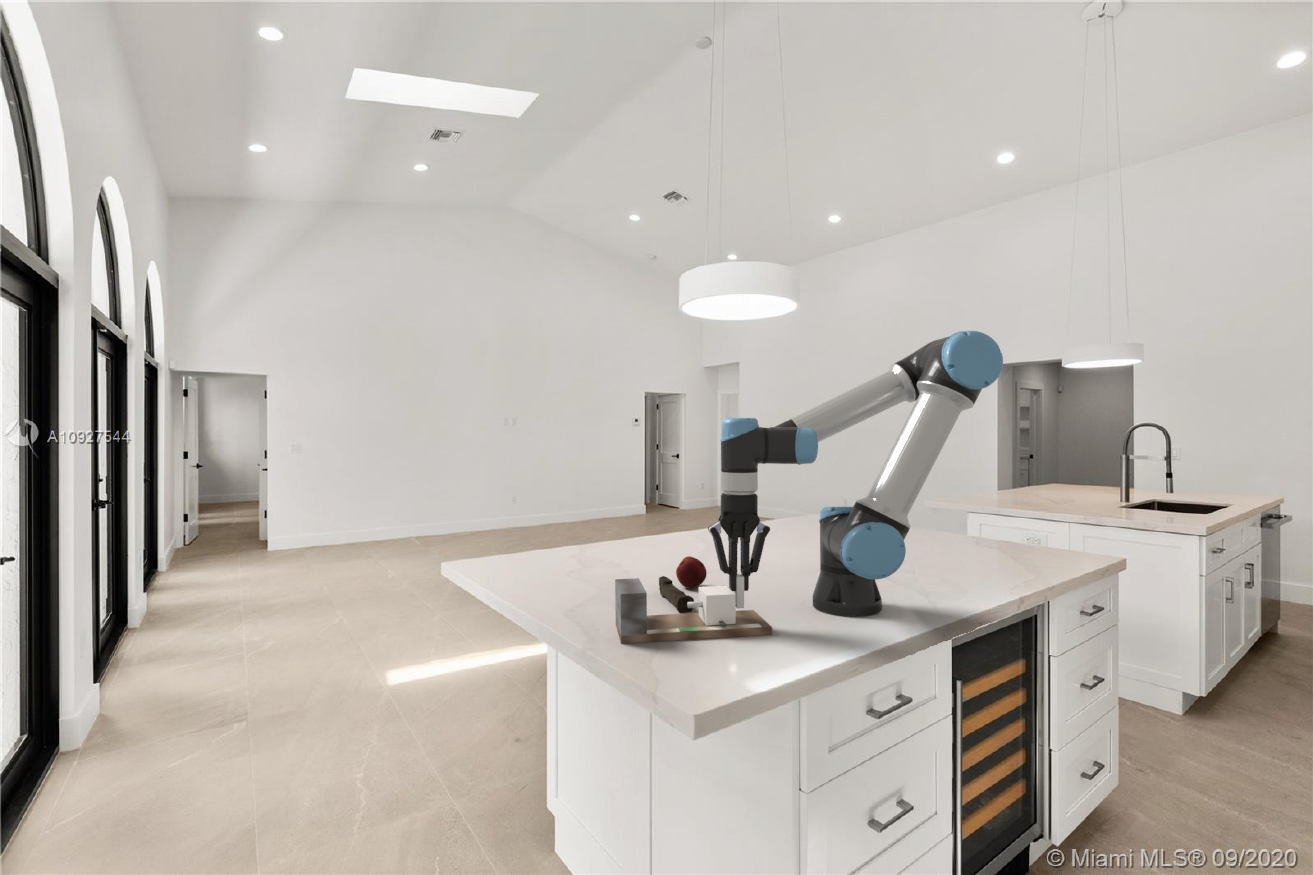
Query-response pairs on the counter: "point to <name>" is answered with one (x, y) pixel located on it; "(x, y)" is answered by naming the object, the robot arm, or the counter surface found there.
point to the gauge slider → (716, 605)
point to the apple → (691, 572)
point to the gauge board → (673, 620)
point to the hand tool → (674, 595)
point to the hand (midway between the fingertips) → (738, 606)
